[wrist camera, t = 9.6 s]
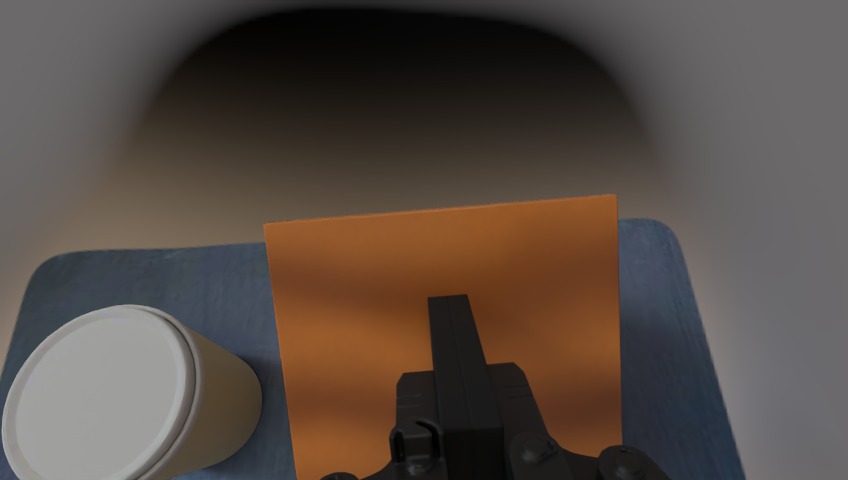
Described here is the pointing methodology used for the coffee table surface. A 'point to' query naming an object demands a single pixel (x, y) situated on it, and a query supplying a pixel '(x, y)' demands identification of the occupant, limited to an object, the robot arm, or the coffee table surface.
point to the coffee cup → (127, 400)
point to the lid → (409, 319)
